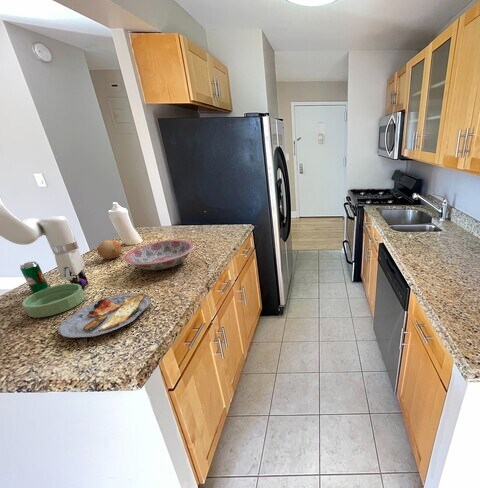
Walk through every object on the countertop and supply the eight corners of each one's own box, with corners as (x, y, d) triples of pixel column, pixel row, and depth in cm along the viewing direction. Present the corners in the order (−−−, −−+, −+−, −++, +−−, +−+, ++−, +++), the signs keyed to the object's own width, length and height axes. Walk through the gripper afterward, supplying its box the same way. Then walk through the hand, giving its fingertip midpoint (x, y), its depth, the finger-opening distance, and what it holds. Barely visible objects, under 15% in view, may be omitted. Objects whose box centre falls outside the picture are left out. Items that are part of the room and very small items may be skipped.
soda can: (28, 292, 107) (15, 265, 102) (43, 285, 111) (31, 260, 107) (37, 293, 105) (24, 267, 101) (52, 287, 110) (40, 261, 105)
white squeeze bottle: (132, 246, 151) (119, 204, 142) (114, 246, 151) (100, 204, 142) (145, 239, 162) (134, 200, 153) (129, 239, 162) (116, 200, 153)
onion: (109, 263, 131) (103, 245, 127) (96, 260, 134) (89, 242, 130) (128, 255, 139) (123, 238, 136) (115, 253, 142) (109, 236, 139)
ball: (73, 290, 107) (70, 282, 106) (77, 286, 111) (74, 277, 109) (85, 288, 109) (82, 280, 107) (89, 284, 112) (86, 275, 111)
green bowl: (18, 323, 88) (11, 311, 86) (41, 299, 101) (36, 288, 99) (76, 311, 94) (71, 300, 92) (91, 290, 107) (87, 280, 105)
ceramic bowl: (176, 249, 147) (173, 236, 144) (209, 260, 133) (206, 246, 130) (117, 270, 124) (112, 254, 121) (149, 286, 110) (144, 269, 107)
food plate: (101, 298, 102) (98, 291, 100) (162, 296, 103) (160, 288, 102) (41, 345, 79) (36, 336, 77) (121, 341, 80) (118, 332, 79)
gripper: (62, 241, 108) (78, 279, 115) (41, 257, 94) (61, 299, 101) (84, 239, 111) (98, 276, 118) (68, 253, 97) (85, 294, 104)
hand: (81, 286), depth 110 cm, fingers closed on ball, 3 cm apart
